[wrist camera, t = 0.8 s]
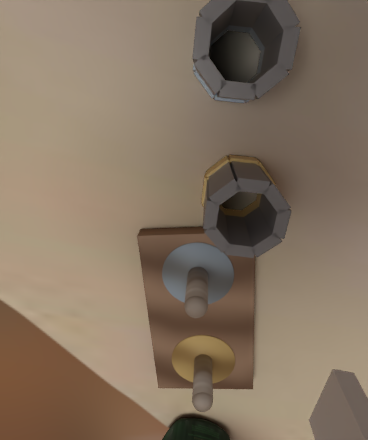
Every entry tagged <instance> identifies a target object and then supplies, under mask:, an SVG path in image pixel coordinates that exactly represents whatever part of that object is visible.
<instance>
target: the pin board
mask: <svg viewBox="0 0 368 440" xmlns="http://www.w3.org/2000/svg"><path fill="white" fill-rule="evenodd" d="M137 238H138V245H139V252H140V259H141V266H142V273H143V280H144V288H145V295H146V302H147V309H148V316H149V323H150V330H151V338H152V345H153V352H154V359H155V366H156V373H157V380H158V388H193V396H192V402H193V405H194V407H195V408H196V409H197V410H198V411H200V412H205V411H208V410H209V409H210V408H211V406H212V403H213V389H253V349H254V284H255V254H254V258H248V257H240V256H232V255H225V252H222V253H221V252H220V250H219V249H218V248H217V247H216V246H215V244H214V243H213V242H212V241H211V240H210V238H209V237H208V236H207V235H206V234H205V232H204V229H203V227H183V228H157V229H141V230H140V232H139V234H138V236H137Z"/></svg>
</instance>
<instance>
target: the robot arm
mask: <svg viewBox="0 0 368 440" xmlns="http://www.w3.org/2000/svg"><path fill="white" fill-rule="evenodd" d="M309 422H310V425H311V428H312V431H313V434H314V437H315V440H368V398H367V397H366V395H365V393H364V391H363V389H362V387H361V385H360V383H359V382H358V380H357V378H356V376H355V374H354V373H352V372H347V371H341V370H335V369H333V370H332V372H331V374H330V376H329V378H328V380H327V382H326V385H325V387H324V389H323V391H322V393H321V395H320V397H319V400H318V402H317V404H316V406H315V408H314V410H313V413H312V415H311V417H310V419H309Z"/></svg>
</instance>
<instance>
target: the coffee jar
mask: <svg viewBox="0 0 368 440" xmlns="http://www.w3.org/2000/svg"><path fill="white" fill-rule="evenodd" d="M162 440H230V438H229V436H228V434H227V433H226V432H225V431H224V430H223V429H222V428H220V427H219V426H217V425H216V424H214V423H212V422H209V421H207V420H203V419H194V418H182V419H179V420H177V421H176V422H175V423H174V424H173V425H172V426H171V427H170V429H169V430H168V431H167V433H166V434H165V436H164V438H163V439H162Z"/></svg>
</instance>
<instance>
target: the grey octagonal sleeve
mask: <svg viewBox="0 0 368 440" xmlns="http://www.w3.org/2000/svg"><path fill="white" fill-rule="evenodd" d="M199 16H200V17H197V19H196V29H195V39H194V49H193V62H194V66H193V71H194V72H195V73H194V74H195V76H196V77H197V79H198V80H199V81H200V83H201V84H202V86H203V87H204V88H205V90H206V91H207V92H208V94H209V95H210V97H211V98H213V97H215V98H214V100H220V101H229V102H238V103H244V102H248V101H249V100H254V99H259V98H260V97H261V96H262V95H264V94H265V93H266V92H267V91H269V90H270V89H271V88H272V87H274V86H275V85H276V84H277V83H279V82H280V81H281V80H282V79H284V78H285V77H286V76H287V75H288V74H289V73H288V72H287V71H289V70H292V66H293V62H294V57H295V52H296V47H297V43H298V38H299V33H300V29H301V27H295V26H296V25H297V24H298V23H299V22H300V21H299V19H298V18H297V16H296V14H295V13H294V11H293V9H292V8H291V6H290V4H289V3H288V1H287V0H211V1H210V2H209V3H207V4H206V5H205V6H204V7H203V8H202V9H201V10H200V11H199ZM227 31H238V32H247V33H249V34H250V35H251V37H252V38H253V40H254V41H255V43H256V44H257V46H258V48H259V49H260V51H261V53H260V59H259V65H258V70H257V75H255V76H254V77H253V78H252V79H251V80H249V81H248V82H247V83H243V82H234V81H225V79H224V78H223V77H222V75H221V74H220V72H219V71H218V70H217V68H216V67H215V65H214V64H213V62H212V61H211V60H210V58H209V56H210V48H211V45H212V44H213V43H214V42H216V41H217V40H218V39H219V38H220V37H221V36H222V35H223V34H224V33H225V32H227Z"/></svg>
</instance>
